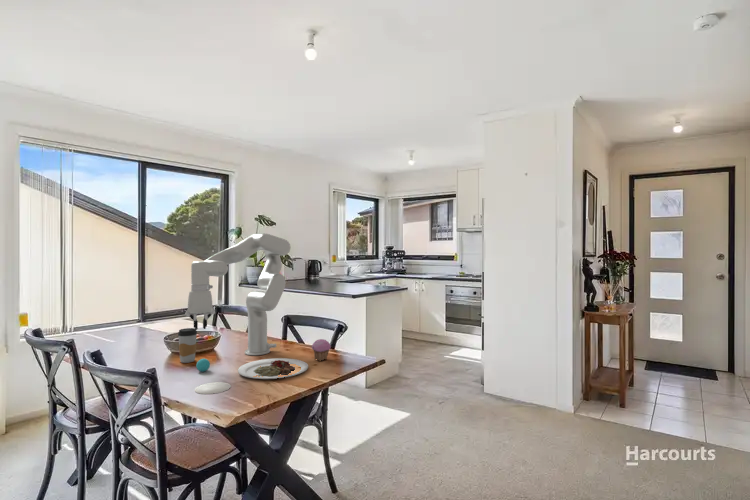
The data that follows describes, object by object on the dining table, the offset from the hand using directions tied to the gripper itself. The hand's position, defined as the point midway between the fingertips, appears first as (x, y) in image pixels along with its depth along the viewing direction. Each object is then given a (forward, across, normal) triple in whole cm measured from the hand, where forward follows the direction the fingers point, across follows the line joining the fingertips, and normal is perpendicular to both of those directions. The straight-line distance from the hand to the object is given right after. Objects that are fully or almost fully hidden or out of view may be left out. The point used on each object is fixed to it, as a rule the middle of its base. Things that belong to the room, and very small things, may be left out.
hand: (200, 328), depth 191 cm
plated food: (+18, -27, +23) cm, 40 cm away
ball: (+14, 0, +9) cm, 17 cm away
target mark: (+17, 0, +34) cm, 38 cm away
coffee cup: (+17, +4, -12) cm, 22 cm away
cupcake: (+17, -52, +17) cm, 57 cm away
